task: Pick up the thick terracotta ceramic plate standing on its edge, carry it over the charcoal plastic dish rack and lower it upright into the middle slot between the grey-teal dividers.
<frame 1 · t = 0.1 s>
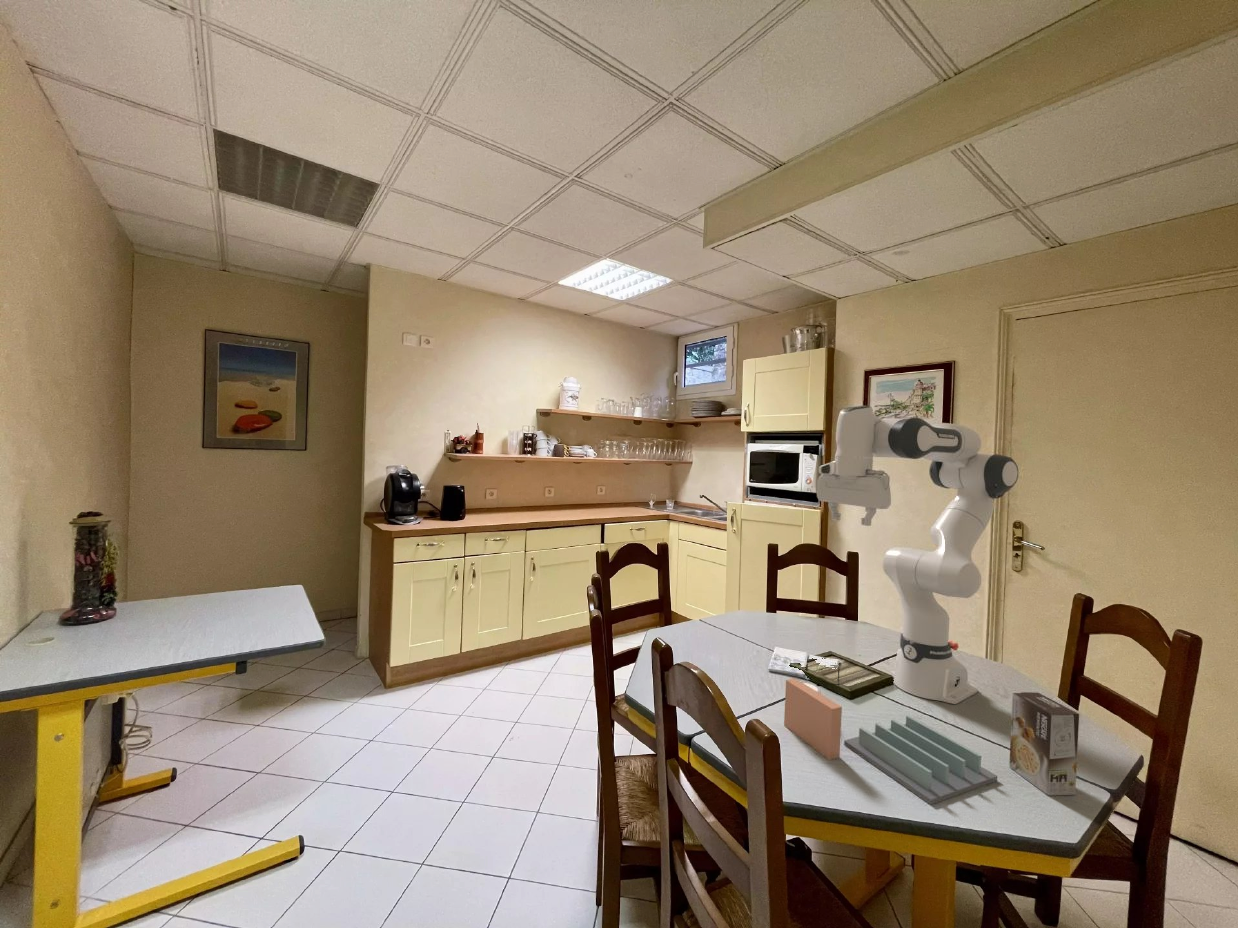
hand: (850, 522, 126), 48 cm above the table, tool pointing down, fingers open, 8 cm apart
white cylinder: (804, 715, 123), on the table
coffee box: (1040, 781, 100), on the table
dish rack: (916, 761, 105), on the table
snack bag: (805, 669, 151), on the table
plate: (810, 740, 112), on the table
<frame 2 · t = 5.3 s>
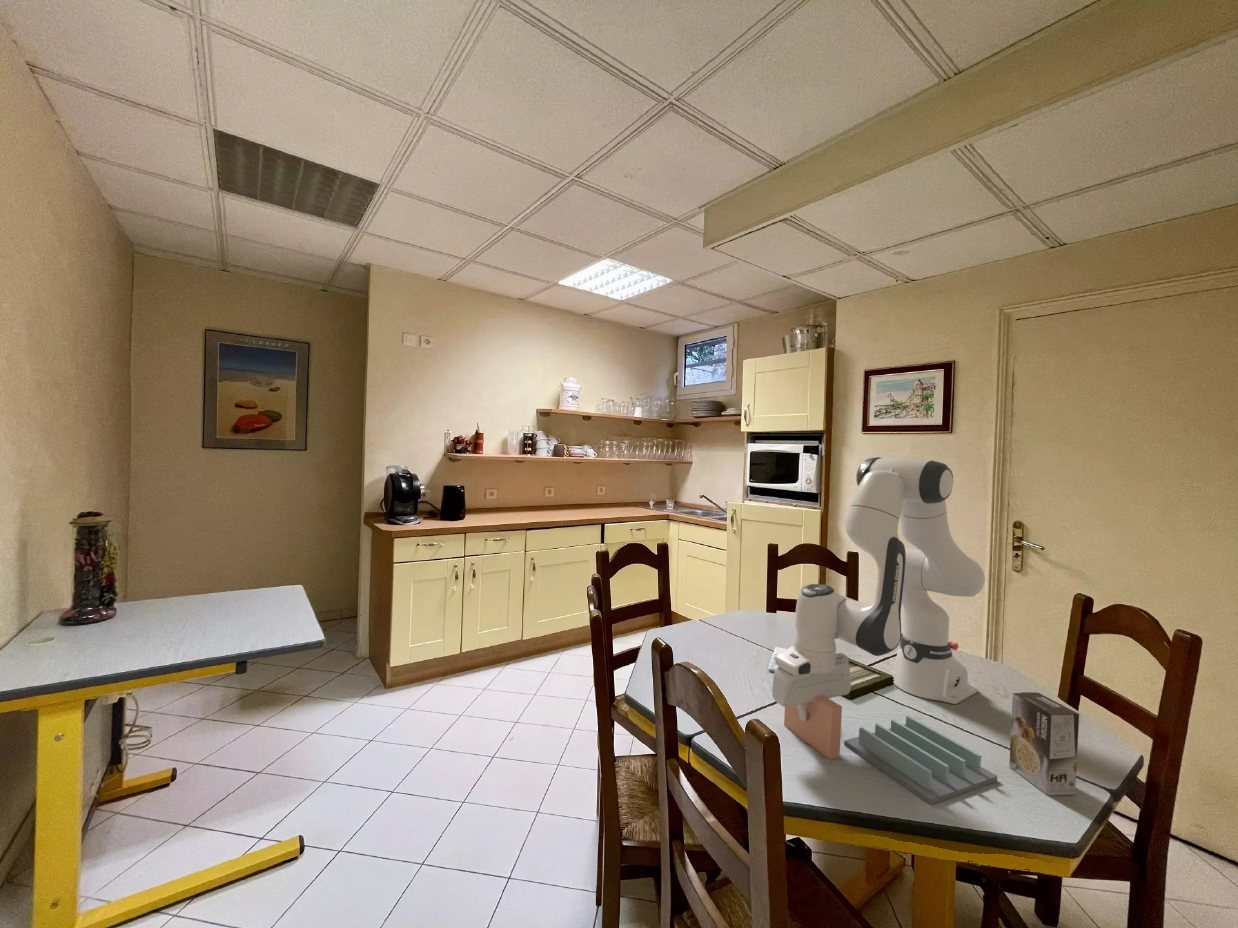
hand: (811, 717, 112), 5 cm above the table, tool pointing down, fingers closed on plate, 3 cm apart
plate: (810, 739, 112), on the table, touching gripper
everything else where it was.
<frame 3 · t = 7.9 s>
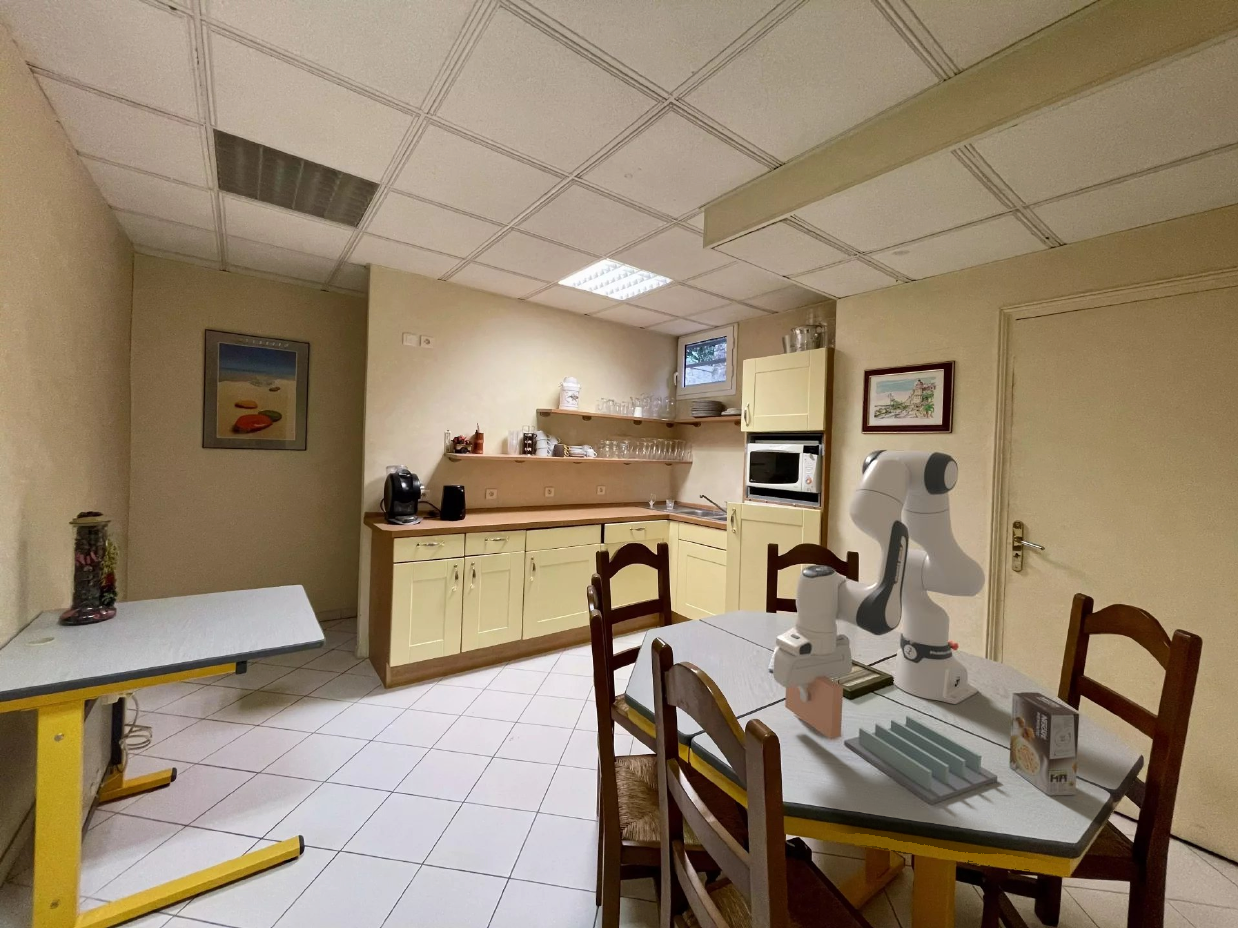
hand: (812, 698, 112), 9 cm above the table, tool pointing down, fingers closed on plate, 3 cm apart
plate: (811, 720, 112), point 4 cm above the table, touching gripper
everything else where it was.
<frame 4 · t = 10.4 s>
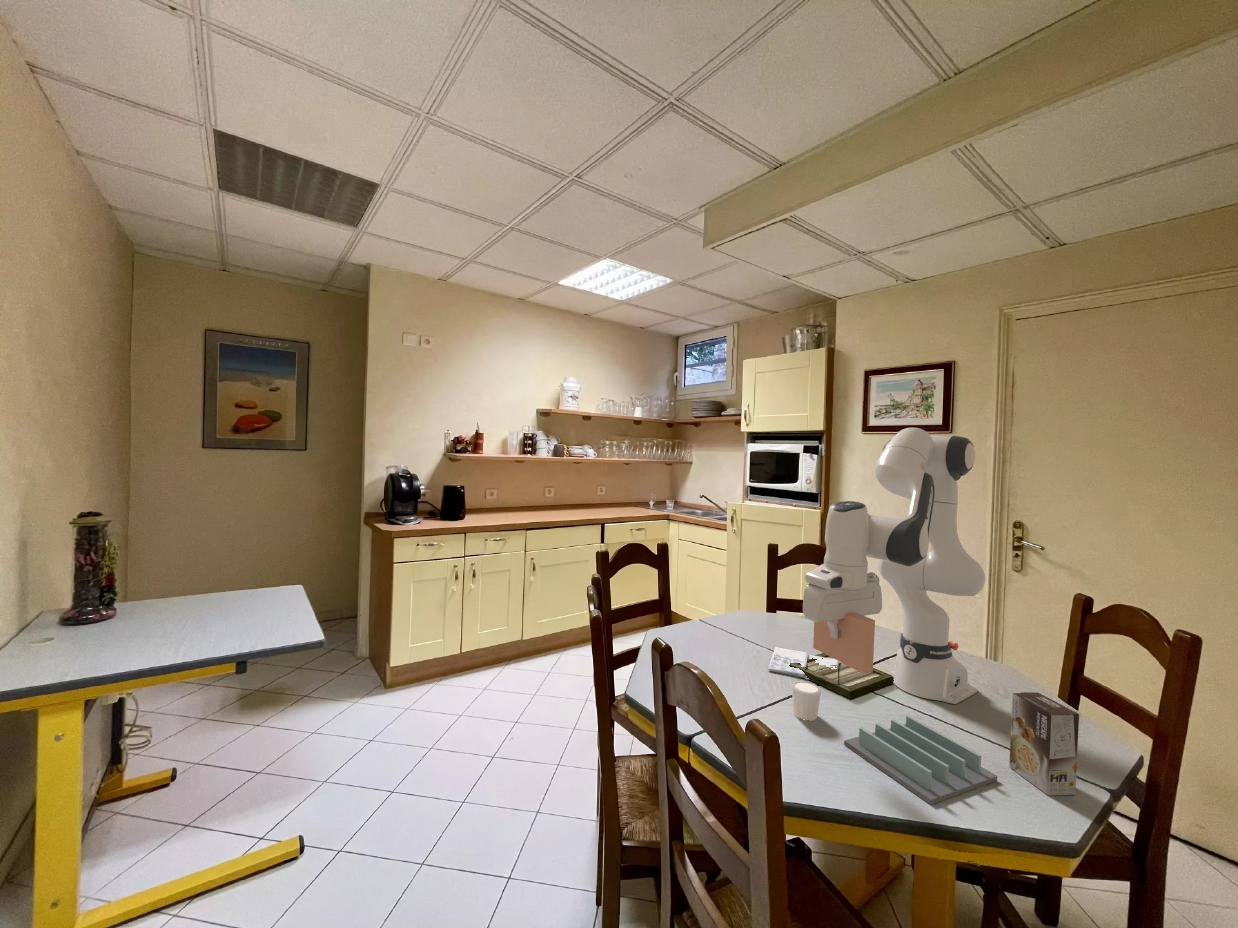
hand: (842, 636, 110), 25 cm above the table, tool pointing down, fingers closed on plate, 3 cm apart
plate: (841, 659, 110), point 19 cm above the table, touching gripper
everything else where it was.
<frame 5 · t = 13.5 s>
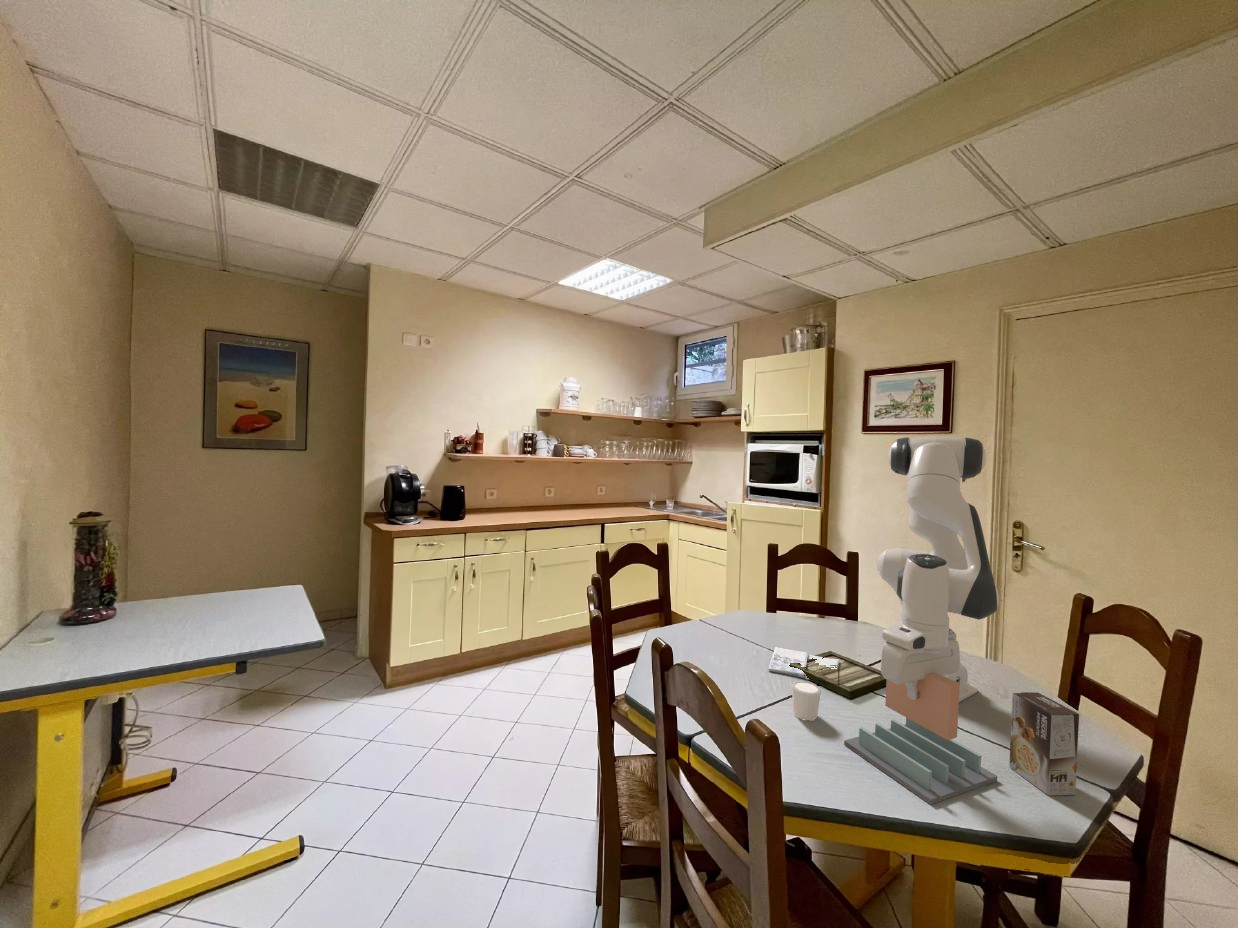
hand: (920, 696, 105), 14 cm above the table, tool pointing down, fingers closed on plate, 3 cm apart
plate: (919, 720, 105), point 9 cm above the table, touching gripper
everything else where it was.
when the fingers open (7 cm above the table, at t = 15.9 s): plate stays where it is, resting on dish rack.
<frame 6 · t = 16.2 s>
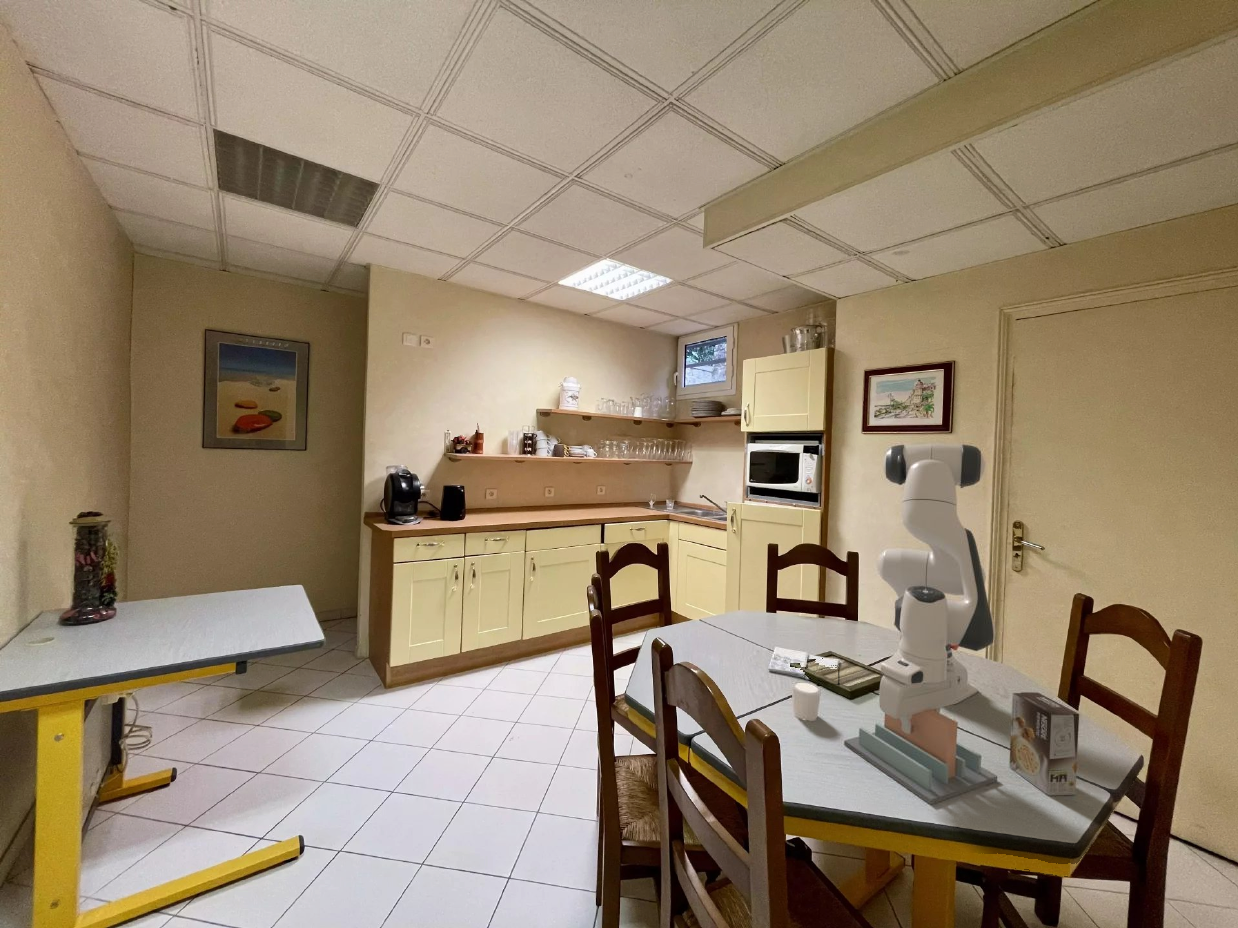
hand: (918, 728, 105), 7 cm above the table, tool pointing down, fingers open, 5 cm apart
plate: (917, 757, 105), point 1 cm above the table, touching dish rack
everything else where it was.
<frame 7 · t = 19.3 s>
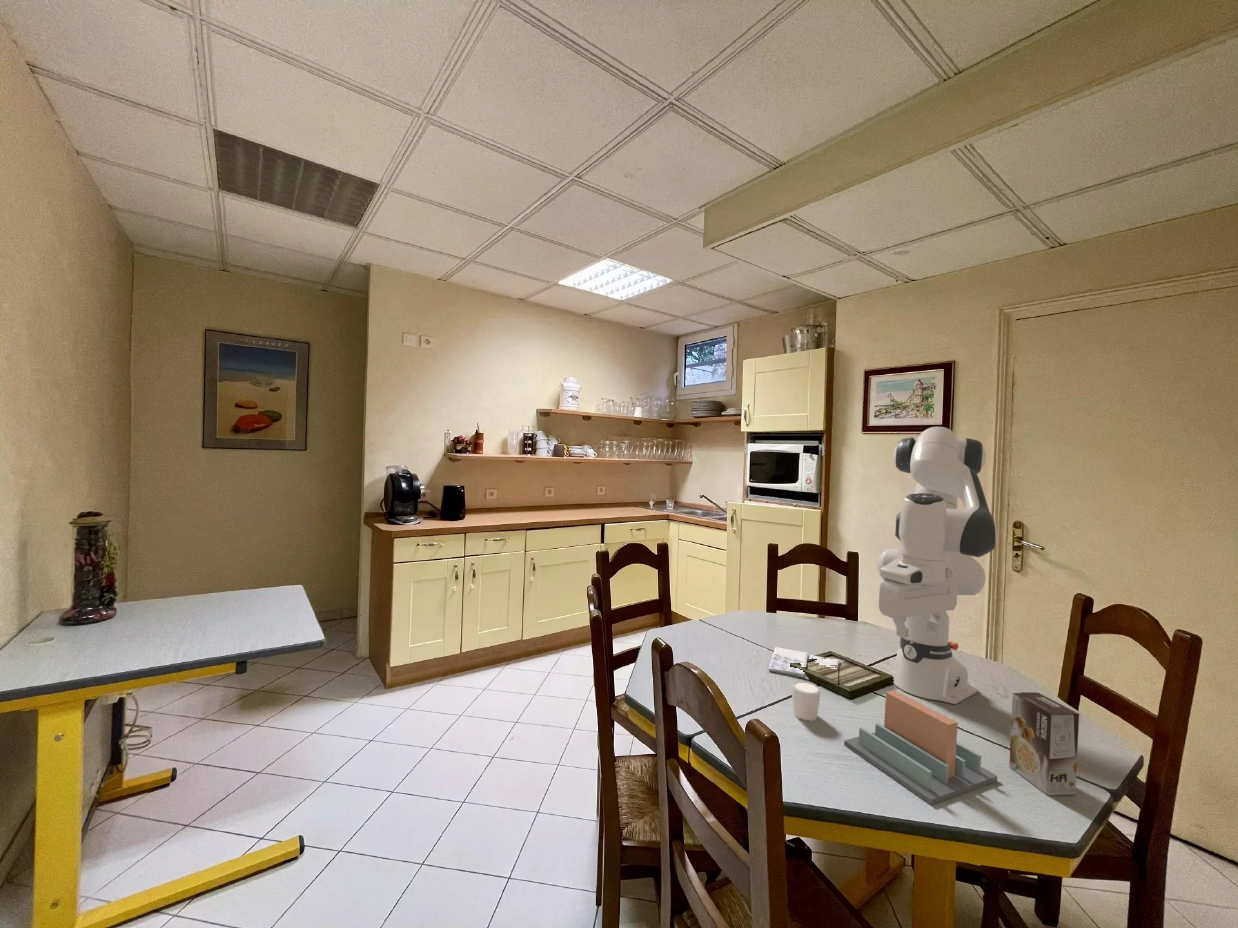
hand: (917, 633, 106), 27 cm above the table, tool pointing down, fingers open, 8 cm apart
nothing on the table moved.
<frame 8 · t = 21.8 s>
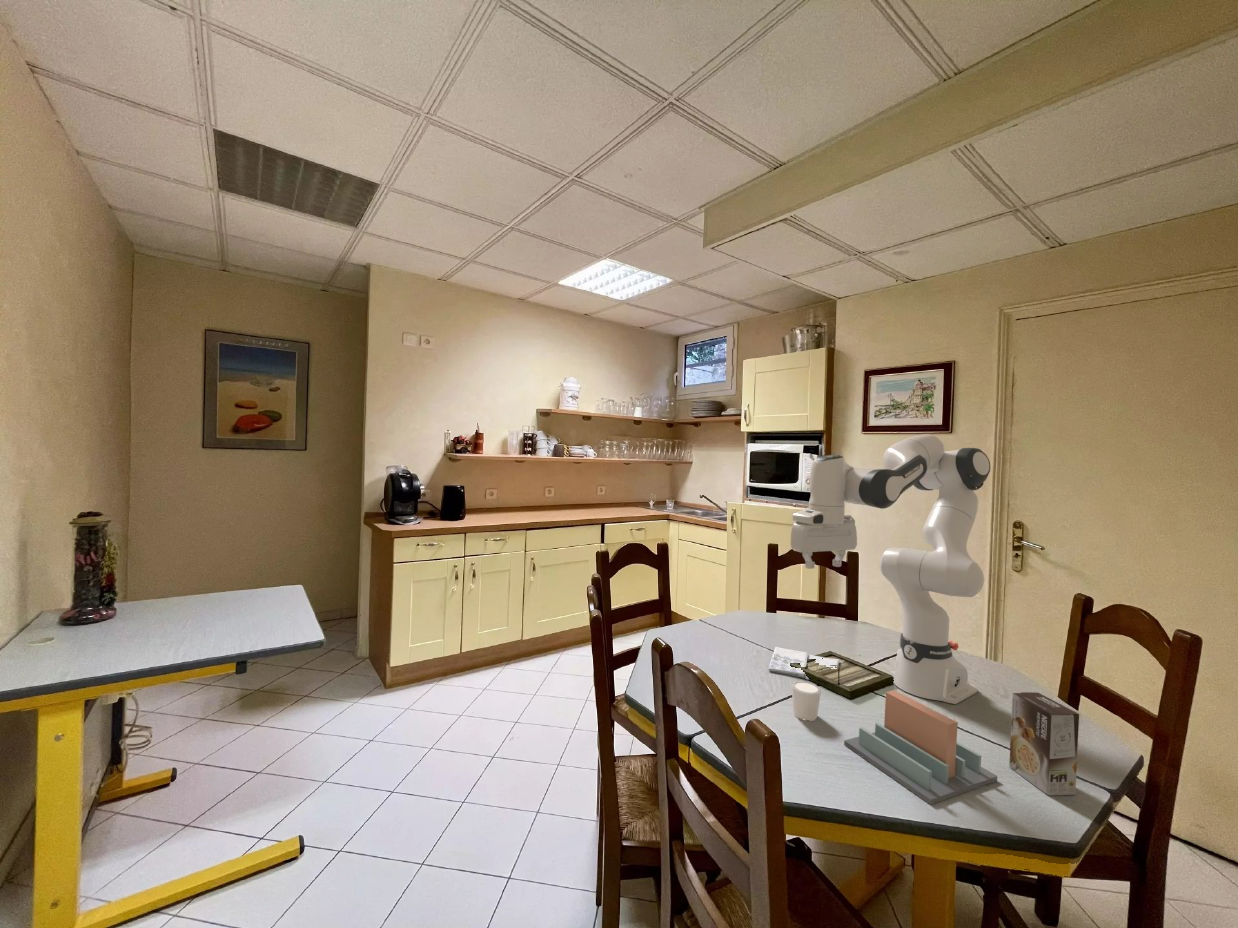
hand: (823, 567, 131), 35 cm above the table, tool pointing down, fingers open, 8 cm apart
nothing on the table moved.
at the end: plate inside the target area on the dish rack (0.0 cm from its centre), point 1.0 cm above the dish rack's base; plate tilted 0°; the gripper is holding nothing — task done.
